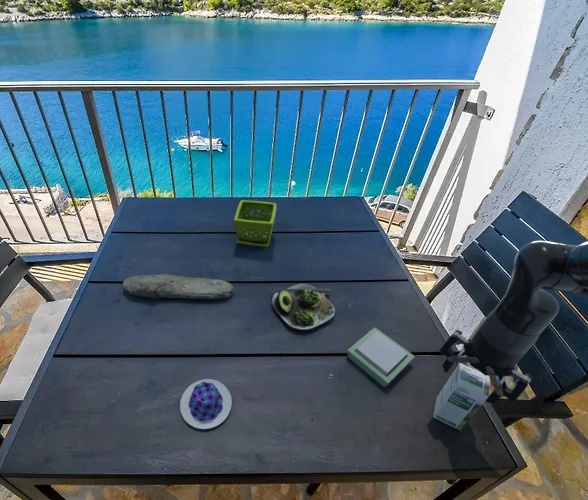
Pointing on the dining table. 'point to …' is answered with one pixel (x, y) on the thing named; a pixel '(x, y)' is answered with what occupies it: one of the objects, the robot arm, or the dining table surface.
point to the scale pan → (381, 353)
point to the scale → (370, 368)
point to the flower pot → (254, 223)
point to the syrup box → (461, 396)
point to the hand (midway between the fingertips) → (467, 384)
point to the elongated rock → (177, 287)
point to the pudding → (205, 404)
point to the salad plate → (302, 306)
